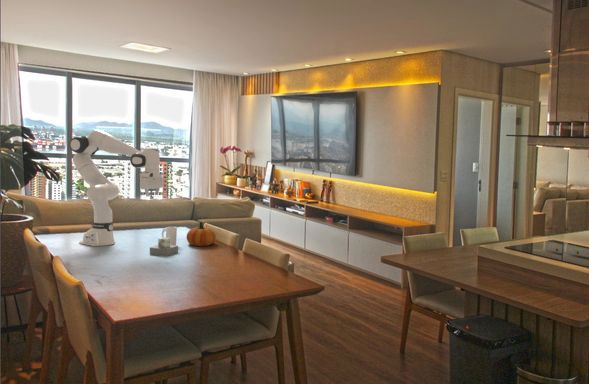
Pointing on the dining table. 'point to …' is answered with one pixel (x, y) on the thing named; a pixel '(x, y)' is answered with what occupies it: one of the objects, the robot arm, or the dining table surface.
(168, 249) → the riser block
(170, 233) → the mug
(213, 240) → the pumpkin
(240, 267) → the dining table surface
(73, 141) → the robot arm
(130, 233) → the dining table surface
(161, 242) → the cube
